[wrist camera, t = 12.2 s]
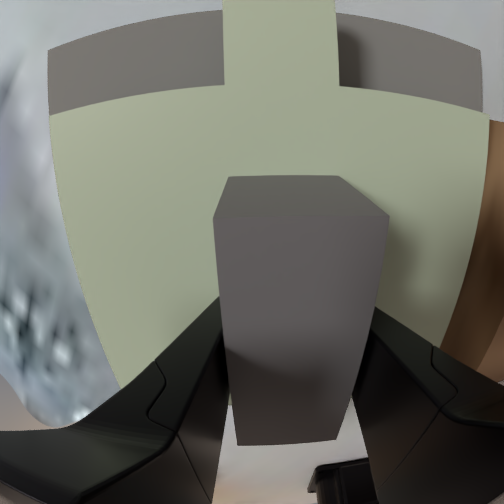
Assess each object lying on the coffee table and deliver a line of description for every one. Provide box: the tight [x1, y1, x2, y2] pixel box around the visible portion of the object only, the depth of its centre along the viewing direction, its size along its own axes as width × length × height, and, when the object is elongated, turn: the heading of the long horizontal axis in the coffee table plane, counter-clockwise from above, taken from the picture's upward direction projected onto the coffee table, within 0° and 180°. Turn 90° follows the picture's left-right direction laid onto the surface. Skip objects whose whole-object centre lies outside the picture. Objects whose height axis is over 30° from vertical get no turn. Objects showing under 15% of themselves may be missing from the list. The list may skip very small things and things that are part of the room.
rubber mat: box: [48, 10, 482, 116], centre depth 12 cm, size 18×17×1 cm
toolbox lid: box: [49, 0, 490, 446], centre depth 8 cm, size 15×14×4 cm
